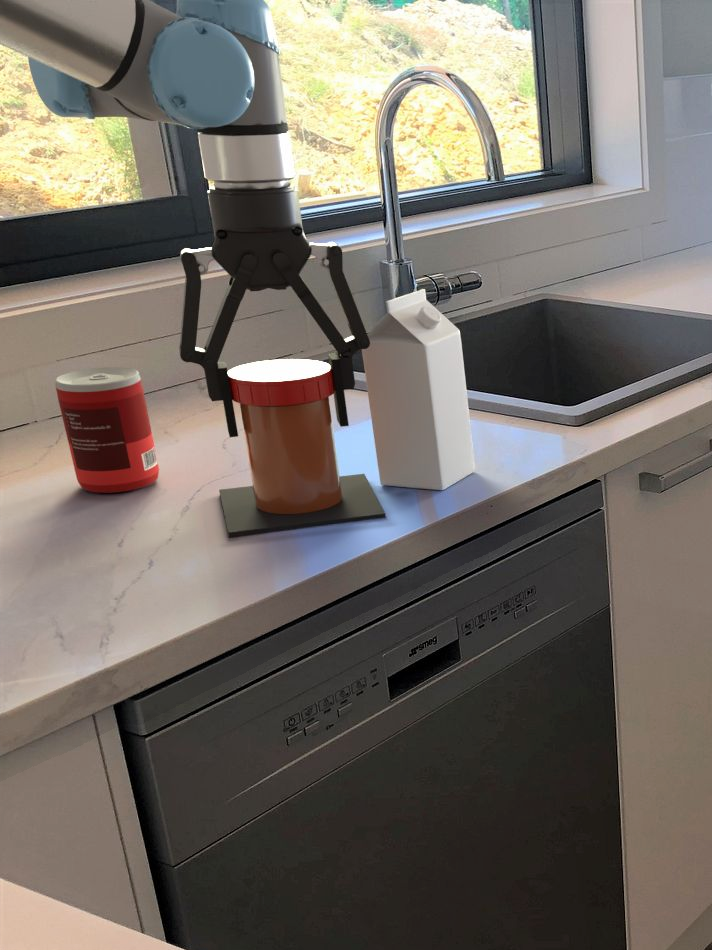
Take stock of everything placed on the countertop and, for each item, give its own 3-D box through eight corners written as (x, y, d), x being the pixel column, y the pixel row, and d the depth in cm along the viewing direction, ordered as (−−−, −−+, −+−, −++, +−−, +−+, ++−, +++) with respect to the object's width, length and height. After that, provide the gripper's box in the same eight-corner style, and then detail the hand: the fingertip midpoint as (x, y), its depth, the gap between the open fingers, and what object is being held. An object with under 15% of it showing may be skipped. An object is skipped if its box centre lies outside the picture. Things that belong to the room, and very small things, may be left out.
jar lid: (234, 410, 126) (230, 385, 125) (227, 387, 134) (223, 363, 133) (341, 401, 130) (337, 376, 129) (328, 379, 138) (325, 356, 137)
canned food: (148, 466, 148) (127, 363, 143) (171, 484, 142) (149, 377, 138) (69, 479, 143) (44, 374, 139) (89, 498, 138) (64, 389, 133)
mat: (228, 537, 128) (227, 532, 128) (219, 494, 140) (219, 489, 139) (386, 518, 134) (385, 513, 134) (365, 478, 145) (364, 473, 145)
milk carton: (380, 486, 143) (354, 299, 135) (415, 467, 149) (392, 287, 141) (442, 492, 141) (420, 303, 134) (476, 472, 148) (456, 290, 140)
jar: (259, 518, 132) (238, 388, 127) (252, 494, 138) (232, 369, 133) (347, 508, 135) (330, 380, 130) (337, 485, 141) (320, 362, 136)
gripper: (372, 175, 132) (400, 408, 141) (115, 182, 123) (162, 429, 132) (385, 184, 126) (412, 426, 135) (115, 191, 117) (164, 450, 126)
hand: (288, 427), depth 134 cm, fingers closed on jar lid, 9 cm apart
